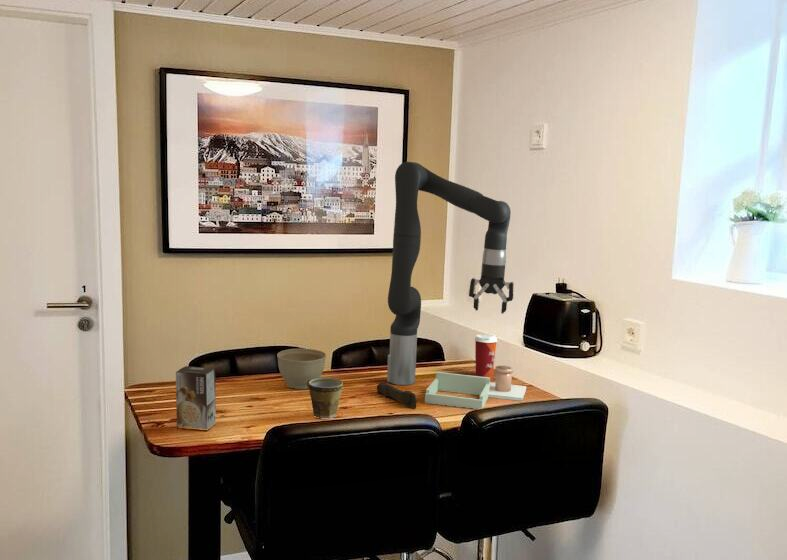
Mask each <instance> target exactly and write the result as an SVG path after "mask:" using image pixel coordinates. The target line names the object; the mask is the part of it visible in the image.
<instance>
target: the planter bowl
mask: <svg viewBox="0 0 787 560" xmlns="http://www.w3.org/2000/svg"><path fill="white" fill-rule="evenodd" d="M276 357H277V366H278V369H279V370H278V371H279V373H280V375H281V377H282V378H283V380H284V381H285V383H286V387H288V388H289V387H290V389H292V388H295V389H294V390H308V389H307V388H308V387H307V382H308V380H313V379H318V378H321V376H322V374H323V372H324V370H325V364H326V358H327V353H326V352H324V351H321V350H318V349H312V348H290V349H285V350H281V351H279V352H277V354H276Z"/></svg>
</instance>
